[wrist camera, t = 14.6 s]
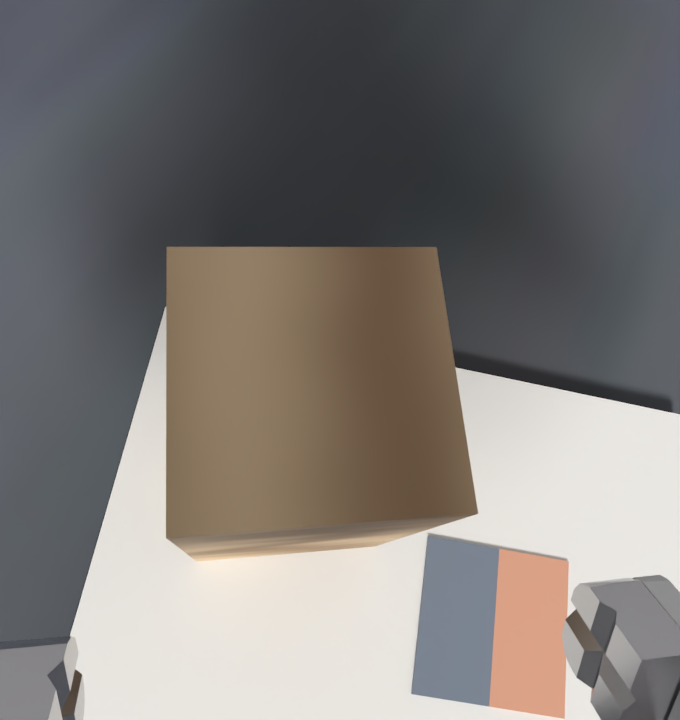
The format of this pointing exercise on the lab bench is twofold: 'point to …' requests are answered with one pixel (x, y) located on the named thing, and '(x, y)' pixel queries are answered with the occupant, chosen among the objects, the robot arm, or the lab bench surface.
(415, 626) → the plate
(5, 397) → the lab bench surface
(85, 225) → the lab bench surface
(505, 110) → the lab bench surface
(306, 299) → the oak block
